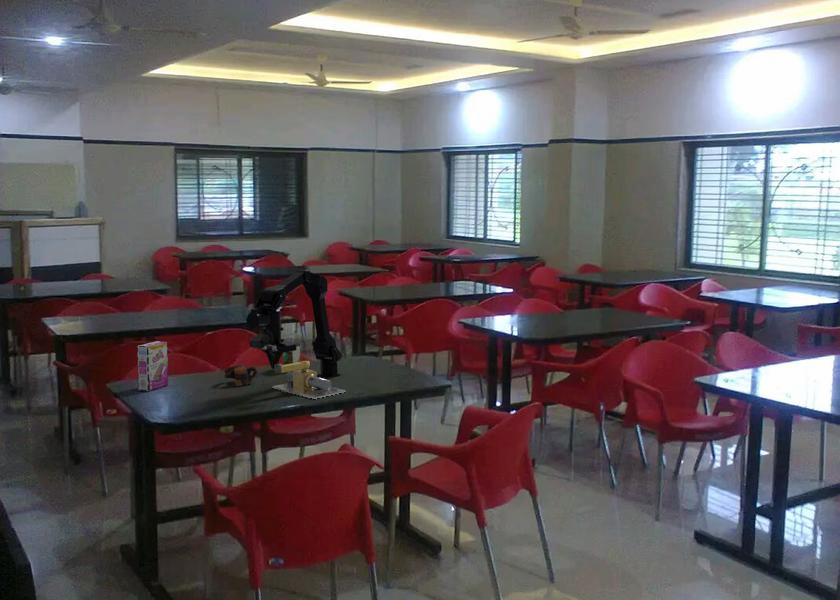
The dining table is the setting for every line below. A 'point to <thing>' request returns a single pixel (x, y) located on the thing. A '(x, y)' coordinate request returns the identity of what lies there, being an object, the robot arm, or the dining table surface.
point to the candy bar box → (152, 365)
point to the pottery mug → (241, 374)
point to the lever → (291, 366)
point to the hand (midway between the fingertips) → (273, 368)
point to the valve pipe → (308, 384)
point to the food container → (292, 355)
